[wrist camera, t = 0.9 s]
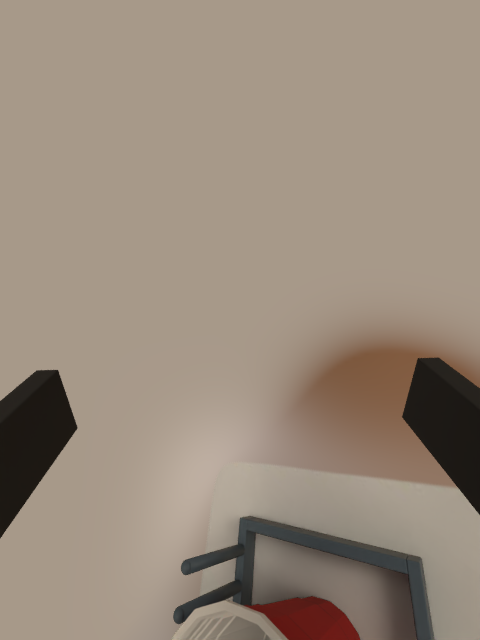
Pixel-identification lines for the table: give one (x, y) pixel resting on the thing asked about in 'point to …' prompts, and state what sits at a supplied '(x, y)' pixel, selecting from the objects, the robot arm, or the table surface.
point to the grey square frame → (315, 540)
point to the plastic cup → (268, 621)
